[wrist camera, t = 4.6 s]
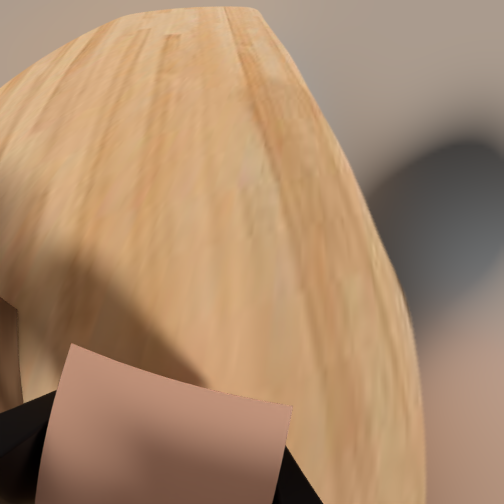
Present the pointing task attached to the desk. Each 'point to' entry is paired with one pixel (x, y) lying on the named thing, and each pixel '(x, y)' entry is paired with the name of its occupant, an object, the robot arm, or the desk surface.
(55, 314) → the desk surface
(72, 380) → the terracotta block
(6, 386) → the walnut plinth
